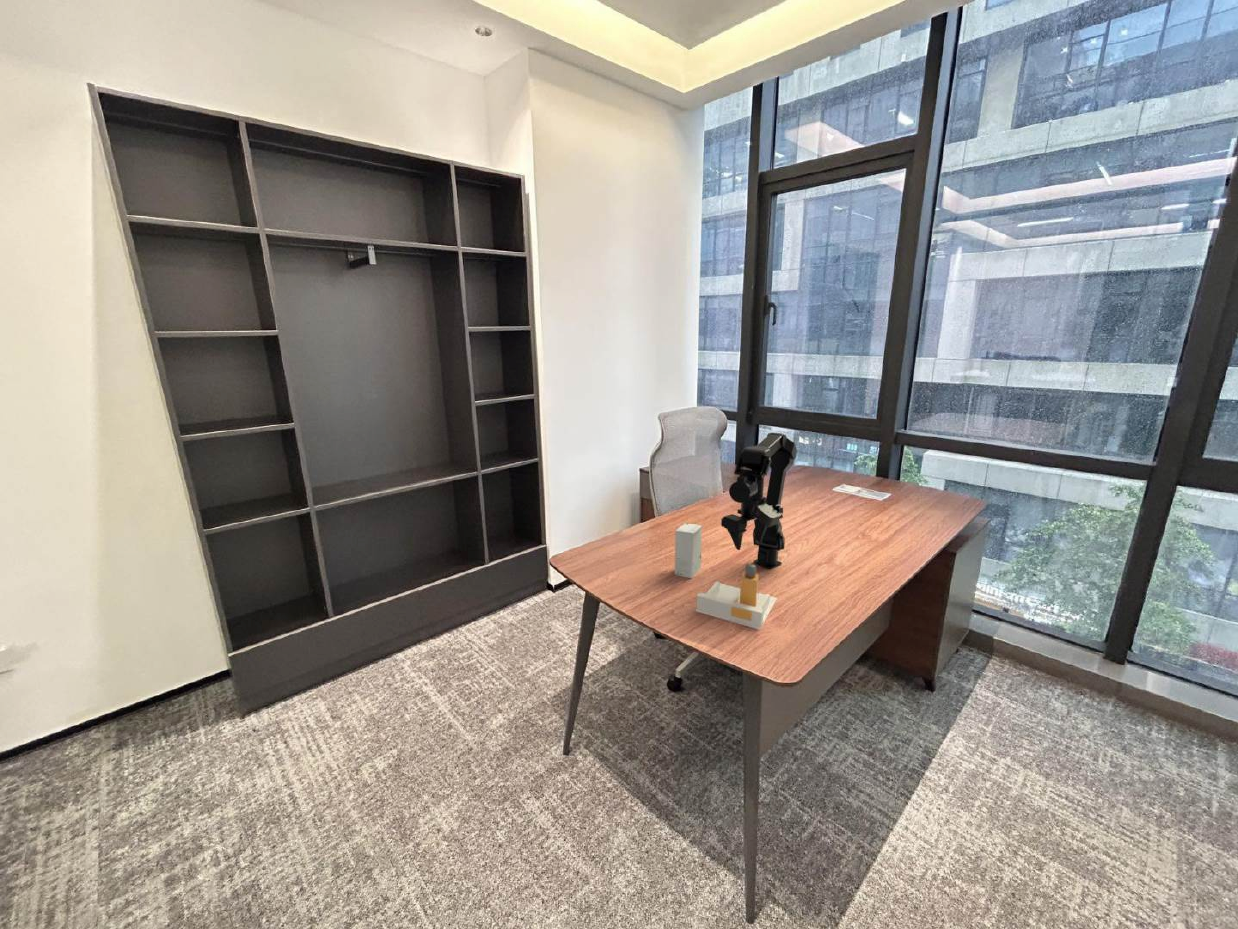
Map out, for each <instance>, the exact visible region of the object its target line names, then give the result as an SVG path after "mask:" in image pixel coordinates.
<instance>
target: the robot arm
mask: <svg viewBox="0 0 1238 929" xmlns="http://www.w3.org/2000/svg"><path fill="white" fill-rule="evenodd" d="M797 453H798V450H797V446H796V443H795V442H794V441H792V440H791V439H789V438H788V437H787V435H786V434H784V433H783V432H782V433H781V432H768V433H767V435H766V437H765V438H764V439H763V440H761V441H760V443H758V444H756V445H752V446H747V447H744V448H743V450H742V451H741V452H740V453H739V457H738V460H737V464H736V467H735V470H734V475H735V476H737V475H738V476H737V478H736V481H735V482H733V483H732V484H731V485H730V487H729V489H728V493H729V497H730V498H731V499H732V501H734V502H735V503H738V504H740V508H739V509H737V513H736V514H740V516H739V515H735V514H733V513H731V514H727V515H725V516H723V517H722V518H721V521H720V523H721V524H720V525H721V527H722V528H724V529H726V530H727V532H728V534H729V535H730V537H731V540H732V542H733V544H734V546H735V549H736V550H738V551H740V550H741V547H742V543H743V535H744V534H745V532H747V530H748V529H746V528H747V527H748V523H749V522H751V521H753V522H754V523H753V524H754V528H753V531H752V538H753V539H752V540H753V546H758V549H757V550H758V551H757V558H756V559H755V560H753V564H755V565H759V566H761V567H762V568H766V569H768V570H771V569H773V568H775V567H778V566H780V565H779V564H781V565H782V561H780V560H778V558H779V552H780V551H781V550H785V545H786V538H785V536H784V534H783V532H782V531H783V525H782V523H781V519H783V518H784V507H783V506H782V504H781V503H782V498H783V493H784V486H785V481H786V475H787V472H788V471H789V469H791V467H792V466H793V465H794V462H795V460H796V458H797V455H798V454H797ZM769 469H770V474H769V479H768V484H767V492H766V497H765V496H764V487H765V484H764V483H765V477H766V476H767V474H768V473H769Z"/></svg>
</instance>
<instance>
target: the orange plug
mask: <svg viewBox="0 0 1238 929" xmlns="http://www.w3.org/2000/svg"><path fill="white" fill-rule="evenodd" d="M756 565H757V564H755V563H746V564H745V570H744V571H742V575H741V577H740V578H741V579H740V588H741V589H740V603H742V604H746V605H749V606H753V607H756V605H757V593H759V592H758V591H759V575H760V574H759V573H756V572H757V571H756V570H757V566H756Z"/></svg>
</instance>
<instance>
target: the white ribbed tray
mask: <svg viewBox="0 0 1238 929" xmlns="http://www.w3.org/2000/svg"><path fill="white" fill-rule="evenodd" d="M740 589H741V587H736V586H734V585H733V586H731V585H728V584H724V583H721V582H720V581H715V583H713V585H712V586H711V588H710V589H709V590H708V591H707V592H706V593H703V592H699V593H698V594H697V595H696V609H695V612H696V613H701V614H705V615H708V616H712V617H714V618H719V619H721V620H725V621H728V622H732V623H735V624H739V625H742V626H746V627H750V628H752V629H757V630H761V628H762V626H763V624H764V623H765V621H766V619H767V617H768V616H769V615H770V614H769V613H770V612H771V610H772V608H773V607H774V605H775V603H776V601H777V600H778V597H775V596H772V595H771V594H767V593H766V594H764V593H760V592H757V605H756V607H753V606H749V605H746V604H742V603H740Z"/></svg>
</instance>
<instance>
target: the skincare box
mask: <svg viewBox="0 0 1238 929" xmlns="http://www.w3.org/2000/svg"><path fill="white" fill-rule="evenodd" d="M702 528H703V526H702V525H699V524H692V523H686V522H685V523H684V524H683V525H680V526H679V527H678V529H676V530H675V533H674V537H675V538H674V575H675V576H680V577H683V578H684V577H685V578H689V579H693V577H694V576H695V575H696V574H697V572H699V571H700V570H701V569H702V534H703V533H702V531H703V529H702Z"/></svg>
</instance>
